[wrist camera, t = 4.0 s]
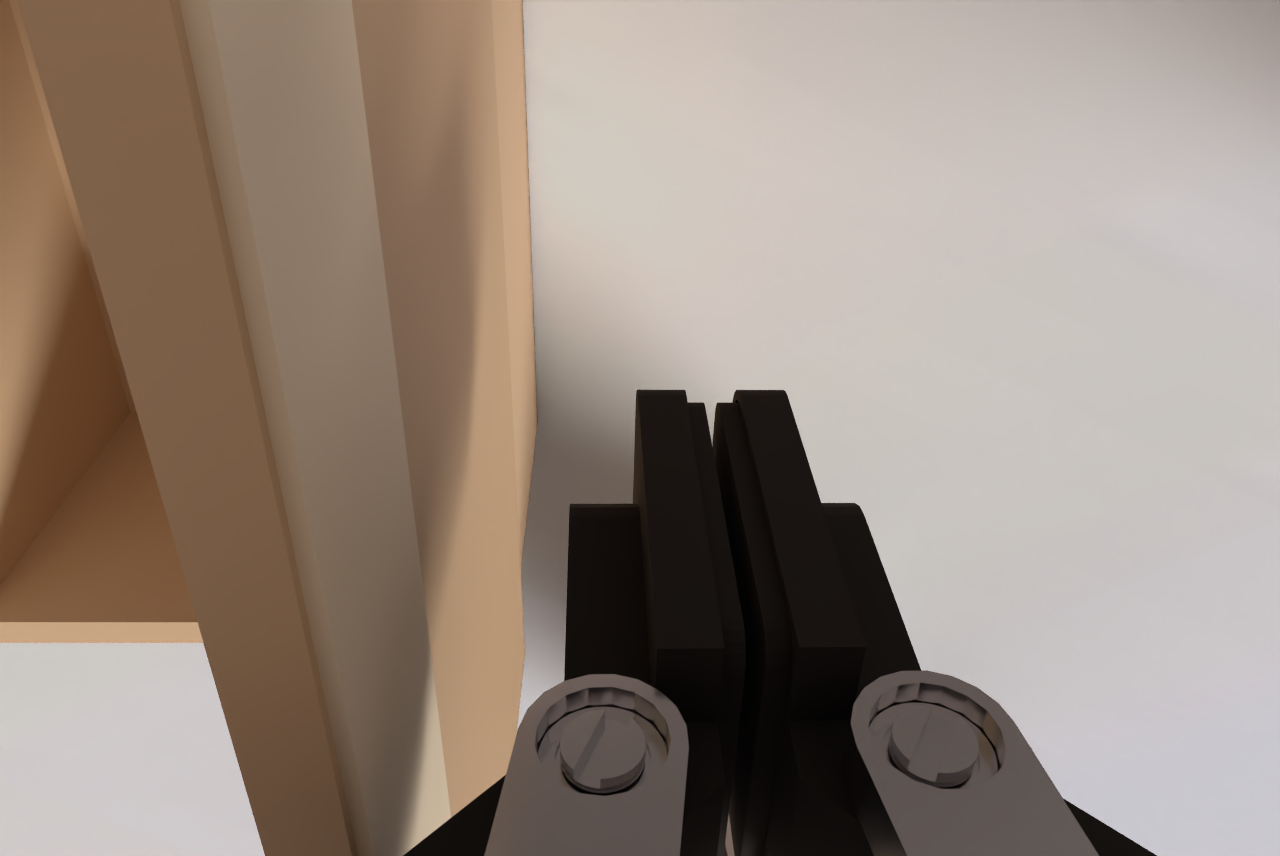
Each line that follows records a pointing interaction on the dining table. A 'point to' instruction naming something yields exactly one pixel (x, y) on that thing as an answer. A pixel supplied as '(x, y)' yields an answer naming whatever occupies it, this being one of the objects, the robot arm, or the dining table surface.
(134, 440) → the carton
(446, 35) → the lid
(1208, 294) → the dining table surface
